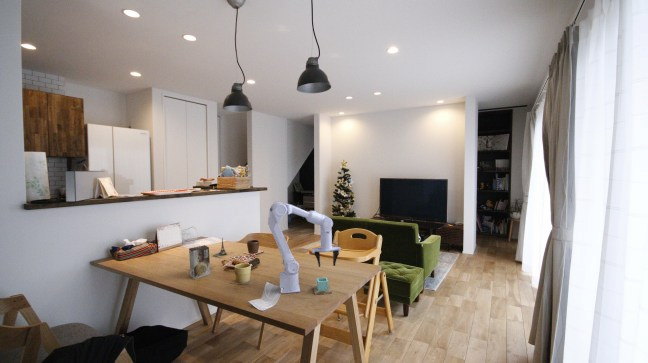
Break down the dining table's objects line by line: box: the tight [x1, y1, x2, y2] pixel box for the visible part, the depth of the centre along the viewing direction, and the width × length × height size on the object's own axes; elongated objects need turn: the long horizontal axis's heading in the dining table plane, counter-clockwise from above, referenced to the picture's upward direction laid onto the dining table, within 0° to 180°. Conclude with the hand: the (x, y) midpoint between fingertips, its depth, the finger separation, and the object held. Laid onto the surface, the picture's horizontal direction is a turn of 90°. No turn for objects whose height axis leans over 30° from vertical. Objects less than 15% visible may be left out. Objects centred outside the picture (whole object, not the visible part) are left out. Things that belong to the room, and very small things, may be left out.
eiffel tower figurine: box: [212, 237, 228, 259], centre depth 203 cm, size 15×10×13 cm
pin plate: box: [313, 284, 333, 296], centre depth 140 cm, size 8×8×4 cm
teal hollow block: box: [316, 277, 329, 291], centre depth 140 cm, size 5×5×4 cm
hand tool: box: [247, 257, 261, 266], centre depth 174 cm, size 19×4×5 cm, turn 155°
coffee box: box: [188, 244, 211, 280], centre depth 163 cm, size 9×6×16 cm
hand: (326, 265), depth 148 cm, fingers open, 7 cm apart
